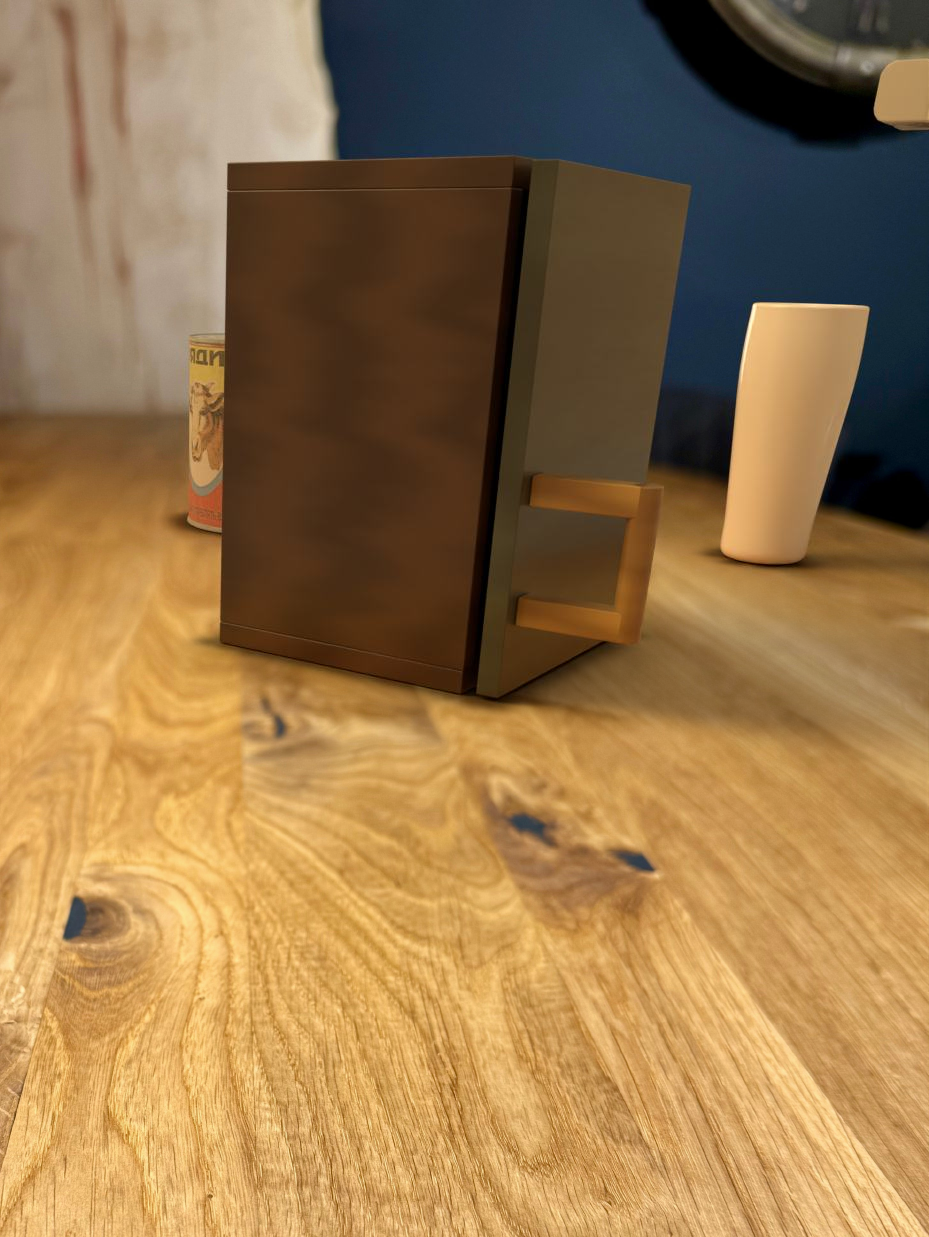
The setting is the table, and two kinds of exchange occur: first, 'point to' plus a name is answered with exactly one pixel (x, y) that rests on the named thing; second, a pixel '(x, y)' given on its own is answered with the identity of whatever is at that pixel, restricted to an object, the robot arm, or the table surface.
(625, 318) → the cupboard door
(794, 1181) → the table surface
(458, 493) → the cupboard
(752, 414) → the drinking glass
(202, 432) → the canned food
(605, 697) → the table surface
